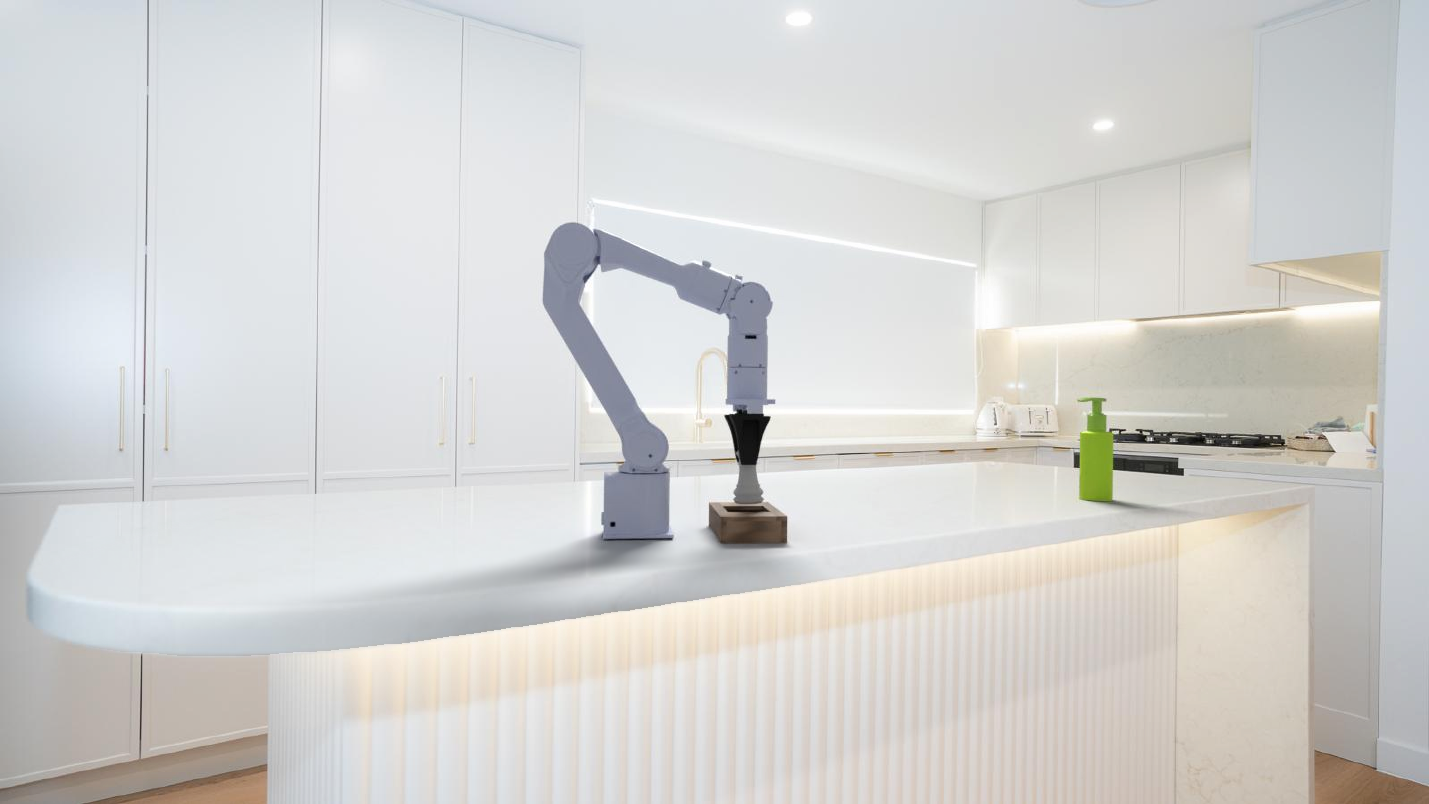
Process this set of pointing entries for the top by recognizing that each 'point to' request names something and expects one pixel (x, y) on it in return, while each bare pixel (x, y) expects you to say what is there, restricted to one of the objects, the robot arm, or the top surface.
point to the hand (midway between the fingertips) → (746, 463)
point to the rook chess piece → (747, 485)
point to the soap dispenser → (1096, 456)
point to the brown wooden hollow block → (747, 522)
